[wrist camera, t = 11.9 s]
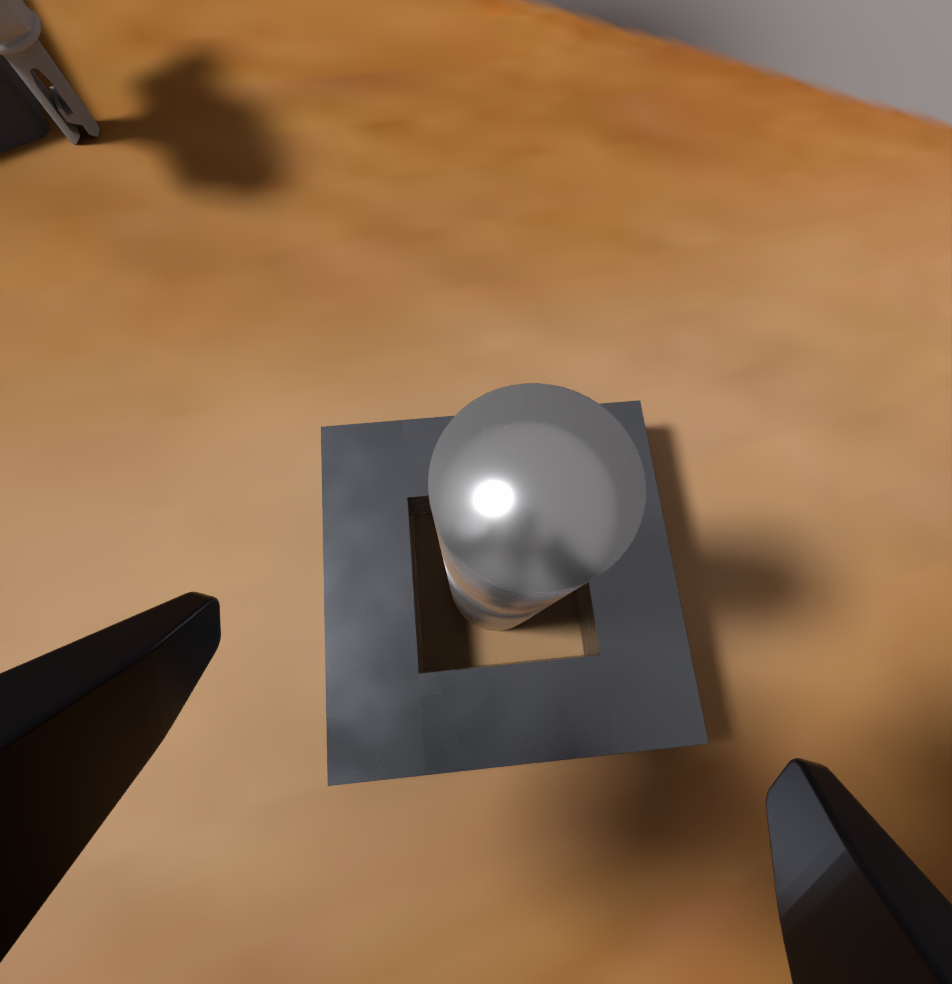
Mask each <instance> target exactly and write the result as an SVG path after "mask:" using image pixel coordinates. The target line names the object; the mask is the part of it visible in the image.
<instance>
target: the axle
mask: <svg viewBox="0 0 952 984" xmlns="http://www.w3.org/2000/svg"><path fill="white" fill-rule="evenodd" d="M428 493H429V500H430V506H431V510H432V514H433V519H434V523H435V527H436V531H437V535H438V539H439V544H440V548H441V552H442V556H443V560H444V564H445V569H446V573H447V577H448V581H449V585H450V589H451V594H452V597H453V601H454V603H455V605H456V607H457V609H458V610H459V612H460V613H461V614H462V615H463V616H464V617H465V618H466V619H467V620H468V621H469V622H471V623H472V624H474V625H476V626H477V627H480V628H482V629H486V630H493V631H501V630H507V629H510V628H513V627H515V626H517V625H519V624H521V623H522V622H524V621H526V620H527V619H529V618H530V617H532V616H534V615H535V614H537V613H539V612H540V611H542V610H543V609H545V608H547V607H548V606H550V605H552V604H553V603H555V602H556V601H558V600H560V599H561V598H563V597H565V596H566V595H568V594H569V593H571V592H573V591H574V590H576V589H577V588H579V587H581V586H582V585H584V584H586V583H587V582H589V581H590V580H592V579H594V578H595V577H597V576H598V575H600V574H601V573H603V572H605V571H606V570H607V569H608V568H610V567H611V566H612V565H613V564H614V563H615V562H617V561H618V559H619V558H620V557H621V556H622V555H623V554H624V553H625V551H626V550H627V549H628V547H629V546H630V544H631V542H632V541H633V539H634V538H635V535H636V533H637V531H638V529H639V527H640V524H641V520H642V517H643V514H644V508H645V501H646V482H645V474H644V469H643V465H642V462H641V458H640V456H639V453H638V451H637V448H636V446H635V444H634V443H633V441H632V439H631V437H630V436H629V434H628V433H627V431H626V430H625V429H624V427H623V426H622V425H621V423H620V422H619V421H618V420H617V419H616V418H615V417H614V416H613V415H612V414H611V413H610V412H609V411H607V410H606V409H605V408H604V407H602V406H601V405H600V404H598V403H597V402H595V401H593V400H592V399H590V398H589V397H587V396H584V395H582V394H580V393H578V392H576V391H573V390H570V389H567V388H564V387H560V386H555V385H550V384H540V383H527V384H517V385H510V386H507V387H503V388H499V389H496V390H494V391H491V392H489V393H486V394H484V395H482V396H481V397H479V398H477V399H475V400H474V401H472V402H471V403H469V404H468V405H467V406H465V407H464V408H463V409H462V410H461V411H460V412H459V413H458V414H457V415H456V416H454V417H453V419H452V420H451V421H450V422H449V424H448V425H447V426H446V428H445V429H444V431H443V432H442V434H441V436H440V437H439V439H438V442H437V444H436V446H435V449H434V451H433V454H432V458H431V462H430V467H429V474H428Z"/></svg>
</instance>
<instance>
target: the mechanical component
mask: <svg viewBox="0 0 952 984" xmlns="http://www.w3.org/2000/svg"><path fill="white" fill-rule="evenodd" d="M40 33H41V22H40V19H39V17H38V16H37V15H36V13H35V12H33V11H32V10H31V9H29V8H28V7H27V6H26V4H25V3H24V2H23V0H0V54H1V55H3V56H4V57H5V58H6V59H7V60H8V62H9V63H10V64H11V66H12V67H13V68H14V69H15V71H16V72H17V73H18V75H19V76H20V77H21V79H22V80H23V81H24V82H25V84H26V85H27V86H28V88H29V89H30V90H31V92H32V93H33V94H34V95H35V97H36V98H37V99H38V101H39V102H40V103H41V105H42V106H43V107H44V108H45V110H46V111H47V112H48V114H49V115H50V116H51V117H52V119H53V120H54V121H55V123H56V124H57V125H58V127H59V128H60V129H61V130H62V132H63V133H64V134H65V136H66V137H67V138H68V140H69V141H70V142H72V143H73V144H76V143H77V142H78V140H79V137H80V134H79V131H78V129H77V126H76V124H77V125H83V127H84V128H85V130H86V131H87V132H88V134H90V135H92V136H96V137H98V135H99V133H100V129H99V126H98V125H97V123H96V122H95V120H94V119H93V118H92V116H91V115H90V113H89V112H88V110H87V109H86V107H85V106H84V105H83V103H82V102H81V100H80V99H79V97H78V96H77V95H76V93H75V92H74V90H73V89H72V87H71V86H70V84H69V83H68V82H67V80H66V79H65V77H64V76H63V74H62V73H61V71H60V70H59V69H58V67H57V66H56V64H55V63H54V61H53V60H52V59H51V57H50V56H49V54H48V53H47V51H46V50H45V48H44V47H43V46H42V44H41V43H40V41H39V39H38V38H39V36H40ZM33 68H35V69H38V70H39V71H40V72H41V73H42V74H43V75H44V76H45V77H46V78H47V79H48V80H49V81H50V82H51V83H52V84H53V85H54V86H51V87H49V88H50V90H51V93H52V95H51V93H50V92H49V91H48V89H47V88H46V87H45V85H44V84H43V83H42V81H41V80H40V79H39V77H38V76H37V75H36V73H35V72H34V71H33ZM54 87H55V88H56V89H55V88H54ZM57 91H58V92H59V93H58V92H57Z"/></svg>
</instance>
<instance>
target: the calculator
mask: <svg viewBox="0 0 952 984" xmlns="http://www.w3.org/2000/svg"><path fill="white" fill-rule="evenodd" d="M49 131H50V128H49V125H48V122H47V120H46V118H45V115H44V113H43V111H42V108H41V106H40V104H39V102H38V99H37V98H36V97H35V95H34V94H33V93H32V92H31V90H30V89H29V88H28V86H27V85H26V84H25V82H24V81H23V80H22V79H21V77H20V76H19V75H18V73H17V72H16V71H15V69H14V68H13V67H12V66H11V64H10V63H9V62H8V60H7V59H6V58H5V57H4V56H3V55H1V54H0V153H1V152H4V151H6V150H9V149H12V148H15V147H17V146H20V145H23V144H26V143H28V142H31V141H34V140H37V139H39V138H42V137H44V136H46V135H47V134H48V133H49Z"/></svg>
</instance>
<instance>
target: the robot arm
mask: <svg viewBox="0 0 952 984" xmlns="http://www.w3.org/2000/svg"><path fill="white" fill-rule="evenodd" d="M220 638H221V626H220V605H219V601H218V600H217V598H215V597H213V596H209V595H206V594H202V593H198V592H189V593H186V594H183V595H181V596H179V597H177V598H174V599H172V600H170V601H167V602H165V603H163V604H160V605H158V606H156V607H153V608H151V609H149V610H146V611H144V612H142V613H139V614H137V615H135V616H132V617H130V618H128V619H125V620H123V621H121V622H118V623H116V624H114V625H112V626H109V627H107V628H105V629H102V630H100V631H98V632H95V633H93V634H91V635H88V636H86V637H84V638H81V639H79V640H77V641H74V642H72V643H70V644H67V645H65V646H63V647H60V648H58V649H56V650H54V651H51V652H49V653H47V654H44V655H42V656H40V657H37V658H35V659H33V660H30V661H28V662H26V663H23V664H21V665H19V666H16V667H14V668H12V669H9V670H7V671H5V672H2V673H0V962H1V961H2V960H3V958H4V957H5V956H6V954H7V953H8V952H9V950H10V949H11V947H12V946H13V945H14V943H15V942H16V941H17V939H18V938H19V937H20V935H21V934H22V932H23V931H24V930H25V928H26V927H27V926H28V924H29V923H30V922H31V920H32V919H33V917H34V916H35V915H36V913H37V912H38V911H39V909H40V908H41V907H42V905H43V904H44V902H45V901H46V900H47V898H48V897H49V896H50V894H51V893H52V892H53V890H54V889H55V887H56V886H57V885H58V883H59V882H60V881H61V879H62V878H63V877H64V875H65V874H66V872H67V871H68V870H69V868H70V867H71V866H72V864H73V863H74V861H75V860H76V859H77V857H78V856H79V855H80V853H81V852H82V851H83V849H84V848H85V846H86V845H87V844H88V842H89V841H90V840H91V838H92V837H93V836H94V834H95V833H96V831H97V830H98V829H99V827H100V826H101V825H102V823H103V822H104V821H105V819H106V818H107V816H108V815H109V814H110V812H111V811H112V810H113V808H114V807H115V806H116V804H117V803H118V801H119V800H120V799H121V797H122V796H123V795H124V793H125V792H126V791H127V789H128V788H129V786H130V785H131V784H132V782H133V781H134V780H135V778H136V777H137V775H138V774H139V773H140V771H141V770H142V769H143V767H144V766H145V765H146V763H147V762H148V760H149V759H150V758H151V756H152V755H153V754H154V752H155V751H156V749H157V748H158V746H159V745H160V744H161V742H162V741H163V739H164V738H165V736H166V735H167V733H168V731H169V730H170V728H171V727H172V725H173V723H174V722H175V720H176V718H177V717H178V715H179V713H180V711H181V710H182V708H183V706H184V705H185V703H186V701H187V700H188V698H189V696H190V694H191V693H192V691H193V689H194V688H195V686H196V684H197V683H198V681H199V679H200V677H201V676H202V674H203V672H204V671H205V669H206V667H207V666H208V664H209V662H210V660H211V659H212V657H213V655H214V654H215V652H216V650H217V648H218V646H219V642H220ZM766 810H767V819H768V828H769V836H770V845H771V854H772V863H773V872H774V880H775V889H776V898H777V905H778V912H779V919H780V924H781V929H782V935H783V940H784V945H785V949H786V954H787V959H788V964H789V968H790V973H791V978H792V982H793V984H952V904H951V903H950V902H949V901H948V900H947V899H946V897H945V896H944V895H943V894H942V893H941V892H940V891H939V890H938V889H937V888H936V886H935V885H934V884H933V883H932V882H931V881H930V880H929V879H928V878H927V877H926V875H925V874H924V873H923V872H922V871H921V870H920V869H919V868H918V867H917V866H916V864H915V863H914V862H913V861H912V860H911V859H910V858H909V857H908V856H907V855H906V853H905V852H904V851H903V850H902V849H901V848H900V847H899V846H898V845H897V844H896V842H895V841H894V840H893V839H892V838H891V837H890V836H889V835H888V834H887V833H886V831H885V830H884V829H883V828H882V827H881V826H880V825H879V824H878V823H877V821H876V820H875V819H874V818H873V817H872V816H871V815H870V814H869V813H868V812H867V810H866V809H865V808H864V807H863V806H862V805H861V804H860V803H859V802H858V801H857V799H856V798H855V797H854V796H853V795H852V794H851V793H850V792H849V791H848V790H847V788H846V787H845V786H844V785H843V784H842V783H841V782H840V781H839V780H838V779H837V777H836V776H835V775H834V774H833V773H832V772H831V771H830V770H829V769H828V768H827V767H825V766H824V765H822V764H819V763H815V762H812V761H808V760H804V759H801V758H795V759H793V760H791V761H790V762H789V763H788V764H787V766H786V767H785V768H784V770H783V771H782V772H781V774H780V775H779V776H778V778H777V779H776V780H775V782H774V783H773V784H772V786H771V787H770V789H769V791H768V793H767V798H766Z"/></svg>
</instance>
